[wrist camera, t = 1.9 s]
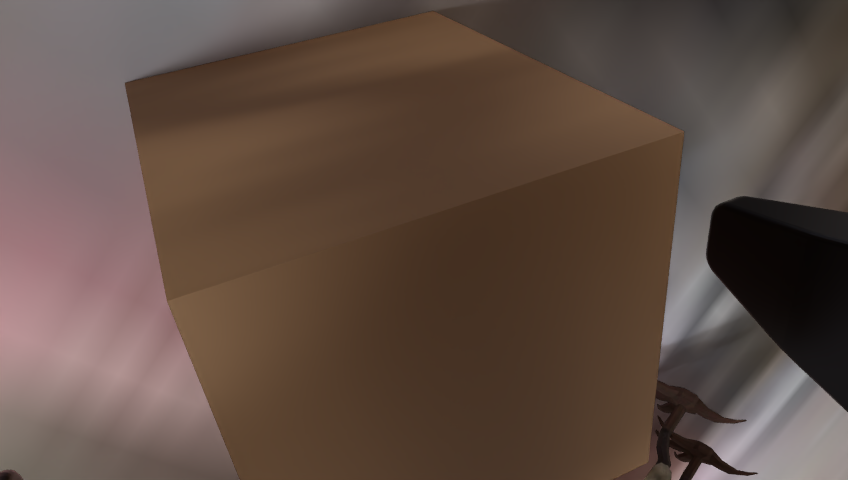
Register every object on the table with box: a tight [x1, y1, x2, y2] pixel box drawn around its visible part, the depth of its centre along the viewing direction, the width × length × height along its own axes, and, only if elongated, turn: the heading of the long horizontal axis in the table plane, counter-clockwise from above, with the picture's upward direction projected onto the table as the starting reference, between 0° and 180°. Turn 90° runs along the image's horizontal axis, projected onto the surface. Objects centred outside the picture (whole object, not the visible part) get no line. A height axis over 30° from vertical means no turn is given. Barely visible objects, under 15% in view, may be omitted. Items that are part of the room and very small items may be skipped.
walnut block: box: [125, 11, 684, 480], centre depth 10 cm, size 5×5×6 cm
